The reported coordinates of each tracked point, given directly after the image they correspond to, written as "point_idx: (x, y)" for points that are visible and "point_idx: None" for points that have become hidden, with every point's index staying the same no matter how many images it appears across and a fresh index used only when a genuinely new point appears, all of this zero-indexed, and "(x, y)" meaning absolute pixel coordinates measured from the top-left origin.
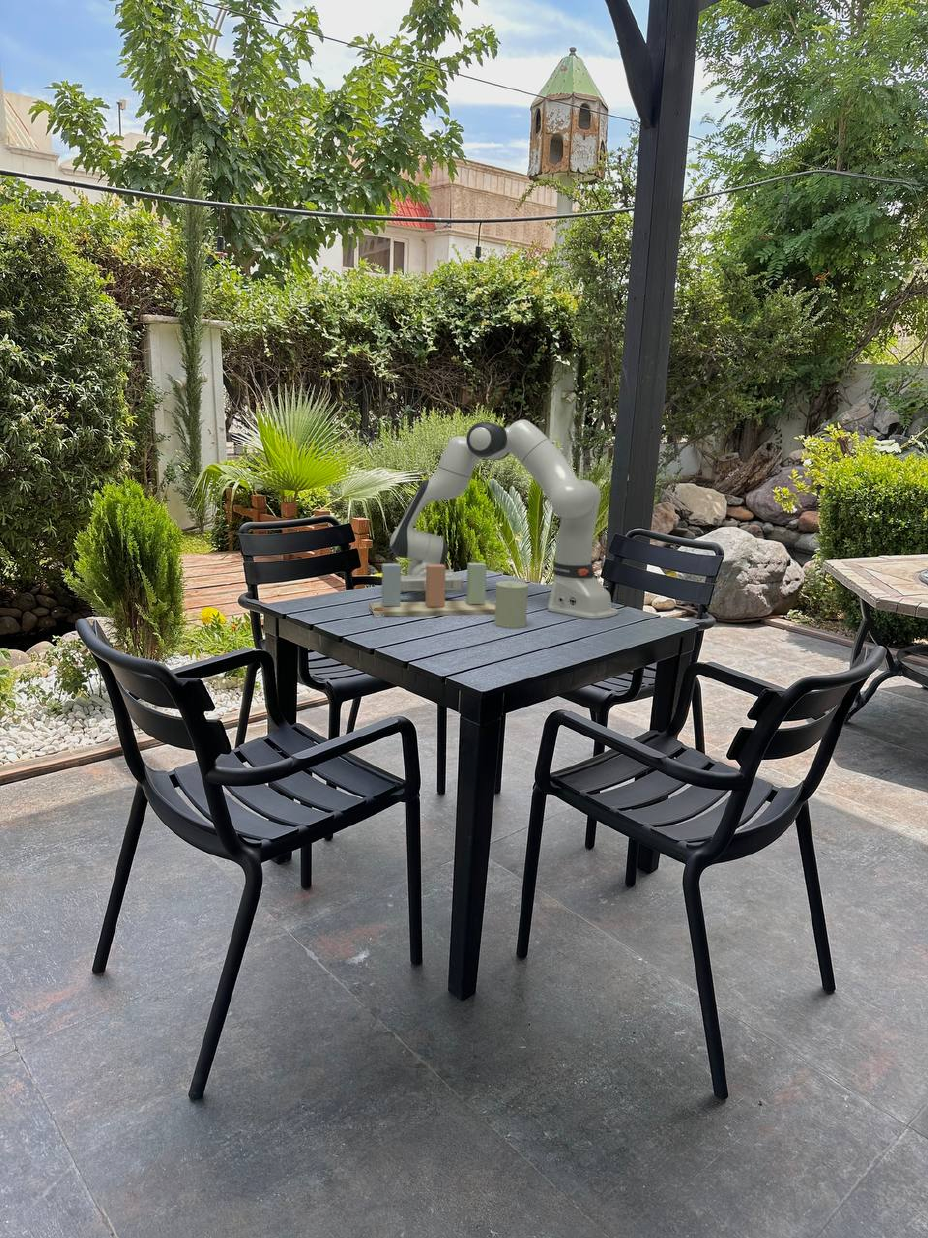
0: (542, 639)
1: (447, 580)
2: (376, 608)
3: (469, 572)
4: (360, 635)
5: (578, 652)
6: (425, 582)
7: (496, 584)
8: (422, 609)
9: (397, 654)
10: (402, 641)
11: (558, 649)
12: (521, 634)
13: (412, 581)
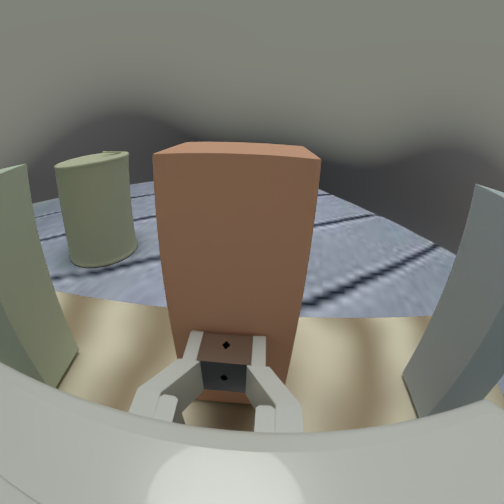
0: None
1: (59, 390)
2: None
3: (21, 217)
4: (415, 244)
5: (134, 188)
6: (285, 419)
7: (123, 155)
8: (306, 336)
9: (344, 203)
10: (345, 222)
11: (145, 192)
12: (138, 217)
13: (413, 421)
